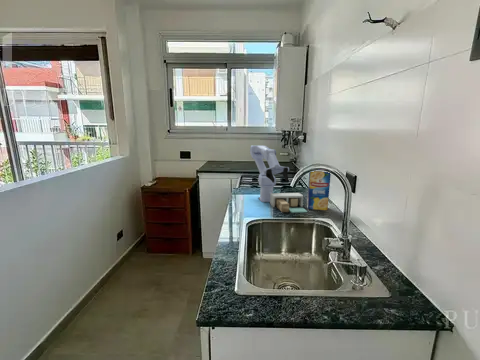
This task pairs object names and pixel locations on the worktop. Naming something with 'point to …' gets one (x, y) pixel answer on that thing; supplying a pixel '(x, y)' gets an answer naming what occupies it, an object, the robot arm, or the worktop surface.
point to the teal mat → (297, 210)
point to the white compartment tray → (287, 198)
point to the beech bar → (282, 205)
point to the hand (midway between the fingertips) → (280, 180)
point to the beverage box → (318, 190)
